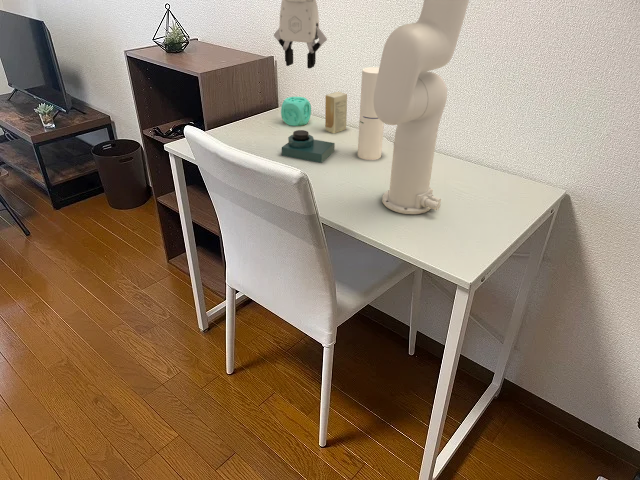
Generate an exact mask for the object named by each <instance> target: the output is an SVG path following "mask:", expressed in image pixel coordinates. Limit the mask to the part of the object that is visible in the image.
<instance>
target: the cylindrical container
mask: <svg viewBox="0 0 640 480" xmlns="http://www.w3.org/2000/svg"><path fill="white" fill-rule="evenodd" d="M379 67H380V66H377V67H376V66H370V67H363V68H362V70H361V84H360V85H361V87H360V102H359V103H360V106H359V120H358V121H359V123H358V137H357V139H358V140H357V157H358V158H360V159H362V160H367V161H375V160H379V159H380V158H381V157H382V152H383V151H382V150H383V139H384V127H385V123H383V122H382V121H381V120H380V119H379V118H378V117H377V115H376V113H375V109H374V91H375V86H376V81H377V76H378V72H379Z"/></svg>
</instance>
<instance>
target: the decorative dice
mask: <svg viewBox="0 0 640 480" xmlns="http://www.w3.org/2000/svg"><path fill="white" fill-rule="evenodd" d="M280 109H281V110H280V116H281V119H282V121H283V122H284V124H286V125H288V126H291V127H302V126H305V125H307V124H308V123H309V121H310V119H311V115H312V105H311V103H310V101H309V100H308V98H306V97H303V96H289V97H286V98H284V100H283V101H282V104H281V107H280Z"/></svg>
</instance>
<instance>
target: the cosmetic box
mask: <svg viewBox="0 0 640 480" xmlns="http://www.w3.org/2000/svg"><path fill="white" fill-rule="evenodd" d="M324 107H325V120H324V121H325V124H324V125H325V127H324V129H325V130H324V131H326V132H328V133H331V134H337V133H340V132H342V131H345V130H347V121H348V120H347V117H348V116H347V115H348V113H347V112H348V93H345V92H342V91H335V92H331V93H328V94H325V106H324Z"/></svg>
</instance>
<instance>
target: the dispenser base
mask: <svg viewBox="0 0 640 480" xmlns="http://www.w3.org/2000/svg"><path fill="white" fill-rule="evenodd" d="M287 140H288V141H287V143H285V144H284V145H283V146H281V156H282V157H287V158H294V159H299V160H305V161H310V162H315V163H319V164H322V163H323V162H324V161H325V160H327V158H329V157H330V156H331V155H332V154H333V153H334V152H335V150H336V149H335V146H336V145H335V144H336V143H335V142H332V141H325V140H320V139H315V138H314V136H313V135H311V134H309V140H306V141H295V140H293V134H290V135H289V136H288V138H287Z"/></svg>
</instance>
